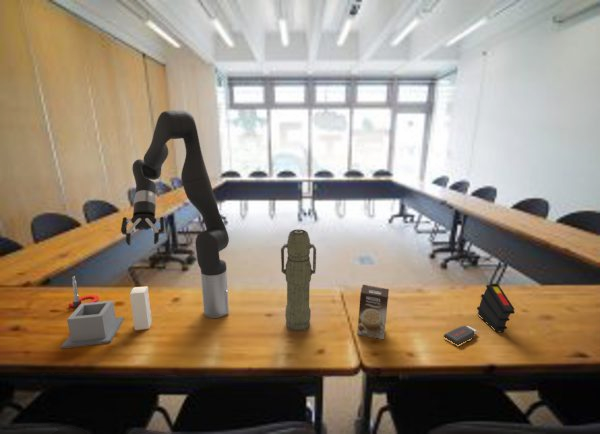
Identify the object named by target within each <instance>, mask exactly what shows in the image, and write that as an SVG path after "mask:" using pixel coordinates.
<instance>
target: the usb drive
mask: <svg viewBox="0 0 600 434" xmlns="http://www.w3.org/2000/svg"><path fill="white" fill-rule="evenodd" d="M477 332H478V330H477V329H475V328H473V327H471V326H469V325H467V326H466V325H461V326H459V327H456V328H455V329H452V330H450V331H449V332H446V333H444V335H443V337H445V338H447V339H448V340H450V341H452V342H453V343H455V344H457V345H459V344H461V343H463V342H465V341H467V340H469V339H471V338H473V337H475V335H474V334H475V333H476V334H477ZM473 339H474V338H473Z"/></svg>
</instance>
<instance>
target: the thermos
mask: <svg viewBox="0 0 600 434" xmlns="http://www.w3.org/2000/svg"><path fill="white" fill-rule="evenodd" d="M286 242H287V243H284V244H283V245H282V247H281V248H280V256H281V257H280V260H281V263H280V264H281V273H282V274H283V275H285V281H286V306H285V327H286V328H287V329H289V330H290V331H293V332H294V331H295V332H302V331H305V330H307V329H308V328H309V327H311V326H310V325H311V312H312V310H311V308H310V288H311V287H310V283H311V280H312V276H313V275H314V274H316V269H317V248H316V247H315V244H313V243H311V239H310V236H309V233H308V231H306V230H305V229H301V228H300V229H299V228H298V229H293V230H291V231H290V232H289V234H288V236H287V241H286ZM285 249H287V251H286V253H287V256H286V257H287V258H286V259H287V261H286V263H285ZM311 249H312V251H313V252H312V264H311V260H310V259H311V258H310V254H311Z"/></svg>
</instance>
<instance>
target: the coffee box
mask: <svg viewBox="0 0 600 434" xmlns="http://www.w3.org/2000/svg"><path fill="white" fill-rule="evenodd" d="M389 293H390V291H389V288H385V287H379V286H373V285H367V284H362V287H361V289H360V295H359V296H360V297H359V308H358V309H359V310H358V318H357V319H358V320H357V323H358V324H357V332H356V334H357V335H359V336H364V337H367V336H368V338H372V337H374V338H373V339H376V338H379V339H378V340H381V339H385V331H386V323H387V321H386V320H387V311H388V303H389Z"/></svg>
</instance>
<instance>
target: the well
mask: <svg viewBox="0 0 600 434" xmlns="http://www.w3.org/2000/svg"><path fill="white" fill-rule="evenodd" d="M66 320H67V321H66V322H67V328H68V331H69V336H68V337H67V339H65V340H64V342H63V343H62V344H61V346H60V347H61V349H67V348H68V349H69V348H77V347H85V346H92V345H94V346H95V345H102V344H109V343H110V344H111V343H112V341H113V339H114V338H115V336H116V334H117V332H118V330H119V329H120V328H121V326H122V324H123V322H124V320H125V316H121V317H117V316H116V309H115V305H114V300H105V301H97V302H92V303H87V302H83V303H82V302H81V304H80V306H79V307H78V308H76V309H75V310H74V311H73V312H72V313H71V315H70V316H69V317H68V318H67V319H66Z"/></svg>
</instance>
